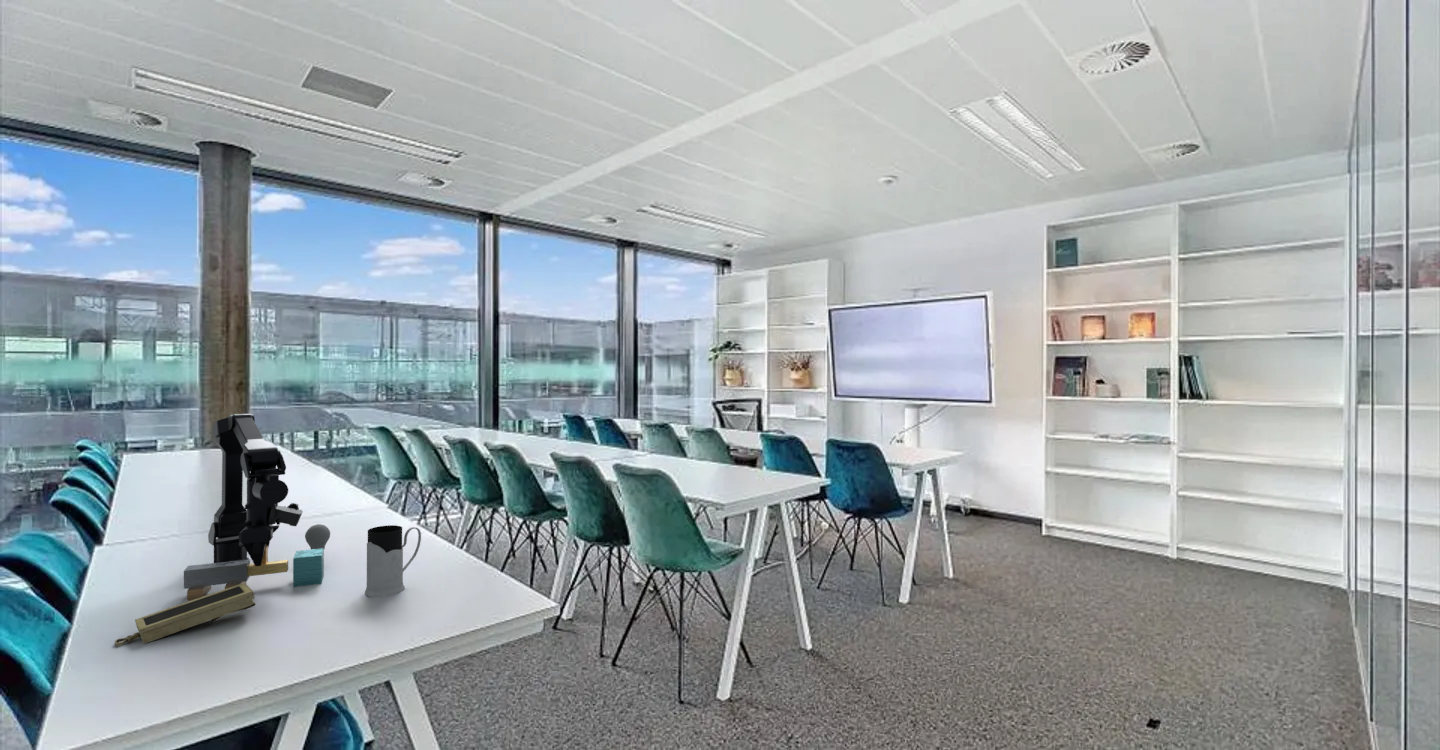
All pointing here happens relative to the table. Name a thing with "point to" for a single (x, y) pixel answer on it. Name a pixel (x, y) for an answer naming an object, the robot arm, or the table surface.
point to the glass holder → (386, 560)
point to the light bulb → (317, 536)
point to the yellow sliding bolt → (267, 566)
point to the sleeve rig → (235, 572)
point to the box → (191, 613)
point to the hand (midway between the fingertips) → (261, 561)
